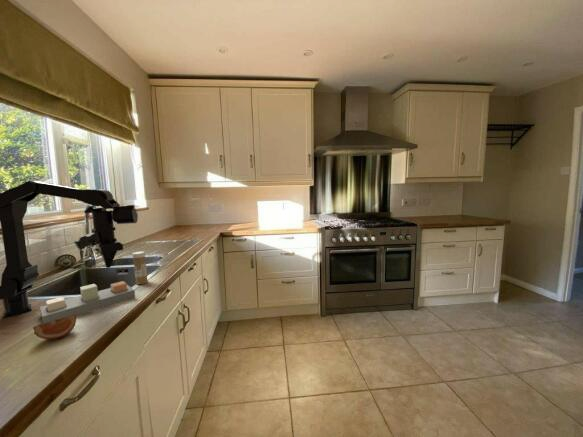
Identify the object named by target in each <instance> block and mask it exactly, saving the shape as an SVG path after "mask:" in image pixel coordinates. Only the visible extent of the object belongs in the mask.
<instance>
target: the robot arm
mask: <svg viewBox="0 0 583 437" xmlns="http://www.w3.org/2000/svg"><path fill="white" fill-rule="evenodd" d="M40 195H44V196H45V195H46V196H51V197H58V198H65V199H71V200H76V201H79V202H82V203H83V204H87V205H89V206H88V208H87V209H85V210H84V211H83V212H84V213H85V214H91V215H92V224H93V225H92V226H93V227H92V228H91V232H90V233H88V234H87V233H86V234H84V235H82V236H79V237H77V238H75V239H73V240H72V241H73V243H74V245H75V246H76V247H77V249H79V250H80V251H81V250H84V249H86V248H87V247H89V246H90V247H91V248H94V246H96V248H94V249H93V250H94V251H96V252H97V253H99V254H100V256H101V258H102V261H103V263H104V266H105V268H107V269H108V268H111V266H112V264H113V261H114V259H115V257H116V254H117V252H118V251H123V250H124V244H123V243H122V242H120V241H118V240H117V239H118V238H116V236H115V231H116V230H117V229H116V227H115V226H114V223H116V224H117V225H128V224H137V222H138V220H139V219H138V218H139V213H138V212H137V209H136V206H135V204H129V205H120V204H119V202H118V201H117V200H115V198H114V196H113V194H112V193H111V191H109V190H107V189H87V188H86V189H85V188H78V187H70V186H66V185H65V186H64V185H58V184H52V183H47V182H42V181H40V180H26V182H25V181H24V182H23V183H21V184H20V185H18V186H17V185H16V186H15V187H12V188H8V189H6V190H4V191H2V192H0V227H1V228H0V229H1V236H2V241H3V250H4V256H5V264H6V265H5V267H4V270H3V272H2V273H1V281H0V300H1V301H2V307H3V310H2V318H8V317H12V316H14V315H19V314H22V313H26V312H30V311H32V309H33V308H32V304H31V303H30V301H29V297H28V296H29V294H28V290H31V289H32V288H33V285H34V283H35V282H37V280H38V277H39V276H40V274H39V272H38V270H39V267H38V265H37V264H34V265H32V263H31V262H30V261H29V258H28V250H27V244H26V242H27V241H26V238H25V237H26V236H25V230H24V222H23V219H24V217H25V215H26V213H27V211H28V204H29V203H30V202H31V201H34V200H35V199H36V197H37V198H38V196H40Z"/></svg>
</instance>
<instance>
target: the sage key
mask: <svg viewBox="0 0 583 437" xmlns="http://www.w3.org/2000/svg"><path fill="white" fill-rule="evenodd" d="M79 289H80V296H81V298H82V301H83V302H85V301H88V300H92V299H96V298H99V296H98V291H99V290H98V285H97V284H95V283H92V284H87V285H83V286H80V287H79Z"/></svg>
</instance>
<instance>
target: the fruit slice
mask: <svg viewBox="0 0 583 437" xmlns="http://www.w3.org/2000/svg"><path fill="white" fill-rule="evenodd" d="M76 323H77V316H76V315H75V314H74V315H70V316H67V317H65V318H60V319H57V320H55V321H54V322H49V323H45V324H43V323H42V324H39V325H34V326H33V327H32V329H33V331H34V332H33V334H34V335H36V337H37V338H39V339H44V340H57V339H61V338H64V337H65V336H68V334H70V333H71V332H72V331H73V330H74V327H75V326H76Z"/></svg>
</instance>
